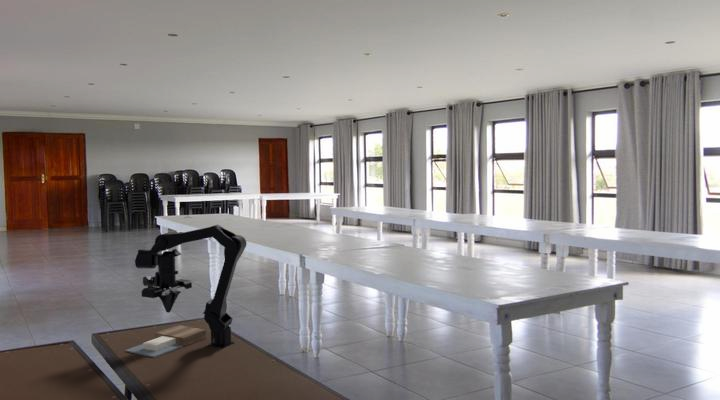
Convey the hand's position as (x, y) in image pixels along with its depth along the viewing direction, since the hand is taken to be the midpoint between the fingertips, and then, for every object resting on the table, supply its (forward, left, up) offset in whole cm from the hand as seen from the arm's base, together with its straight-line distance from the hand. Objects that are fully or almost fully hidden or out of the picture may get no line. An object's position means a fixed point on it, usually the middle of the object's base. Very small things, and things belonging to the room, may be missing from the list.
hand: (168, 312), depth 204 cm
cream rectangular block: (-1, +5, -11) cm, 12 cm away
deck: (-1, -5, -11) cm, 12 cm away
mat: (-1, +7, -11) cm, 13 cm away
